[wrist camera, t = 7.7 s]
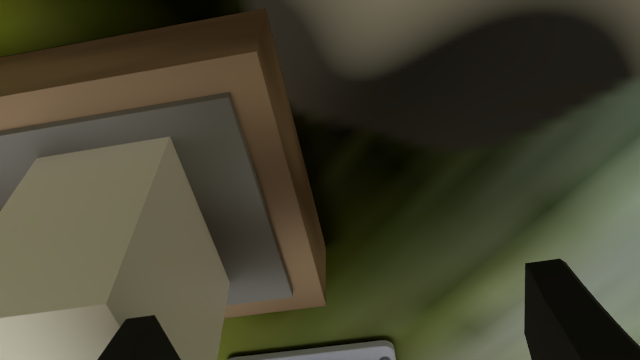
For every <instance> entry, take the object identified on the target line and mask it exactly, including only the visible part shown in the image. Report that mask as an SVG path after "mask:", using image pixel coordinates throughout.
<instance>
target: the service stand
mask: <svg viewBox="0 0 640 360" xmlns="http://www.w3.org/2000/svg"><path fill="white" fill-rule="evenodd" d="M164 137H170V138H171V140H172V143H173V145H174V148H175V150H176V152H177V155H178V157H179V160H180V162H181V165H182V167H183V169H184V172H185V174H186V177H187V179H188V182H189V184H190V186H191V189H192V191H193V194H194V196H195V199H196V201H197V204H198V206H199V208H200V211H201V213H202V216H203V218H204V221H205V223H206V225H207V228H208V230H209V233H210V235H211V238H212V240H213V242H214V245H215V247H216V250H217V252H218V255H219V257H220V260H221V262H222V264H223V267H224V269H225V272H226V274H227V277H228V279H229V281H230V285H229V291H228V297H227V303H226V309H225V315H224V318H231V317H239V316H247V315H255V314H263V313H271V312H279V311H287V310H295V309H303V308H311V307H319V306H326V247H325V243H324V239H323V235H322V231H321V227H320V223H319V219H318V215H317V211H316V207H315V203H314V199H313V195H312V191H311V187H310V183H309V179H308V175H307V171H306V168H305V164H304V160H303V156H302V152H301V148H300V144H299V140H298V136H297V132H296V128H295V124H294V120H293V116H292V112H291V108H290V104H289V100H288V96H287V92H286V88H285V84H284V80H283V76H282V73H281V68H280V64H279V60H278V56H277V52H276V49H275V45H274V40H273V36H272V33H271V28H270V24H269V20H268V16H267V13H266V9H259V10H254V11H248V12H243V13H238V14H232V15H227V16H221V17H216V18H211V19H205V20H200V21H194V22H189V23H184V24H178V25H173V26H167V27H162V28H157V29H151V30H146V31H141V32H135V33H130V34H124V35H119V36H114V37H108V38H103V39H97V40H92V41H87V42H81V43H76V44H70V45H65V46H60V47H54V48H49V49H43V50H38V51H33V52H27V53H22V54H16V55H11V56H6V57H0V211H1V210H2V208H3V207H4V205H5V204H6V202H7V201H8V199H9V198H10V196H11V195H12V193H13V192H14V190H15V189H16V188H17V186H18V185H19V183H20V182H21V180H22V179H23V177H24V176H25V174H26V173H27V171H28V170H29V168H30V167H31V165H32V164H33V163H34V161H35V160H36V158H41V157H47V156H53V155H59V154H65V153H71V152H78V151H84V150H90V149H96V148H102V147H108V146H114V145H121V144H127V143H133V142H139V141H145V140H151V139H158V138H164Z"/></svg>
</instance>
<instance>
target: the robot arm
mask: <svg viewBox="0 0 640 360" xmlns="http://www.w3.org/2000/svg"><path fill="white" fill-rule="evenodd" d="M524 333H525V337H526V340H527V344H528V348H529V351H530V355H531V359H532V360H640V346H639V345H638V344H637V343H636V342H635V341H634V340H633V339H632V338H631V337H630V336H629V335H628V334H627V333H626V332H625V331H624V330H623V329H622V328H621V326H620V325H619V324H618V323H617V322H616V321H615V320H614V319H613V318H612V317H611V316H610V314H609V313H608V312H607V311H606V310H605V309H604V308H603V307H602V305H601V304H600V303H599V302H598V301H597V300H596V299H595V298H594V296H593V295H592V294H591V293H590V292H589V291H588V289H587V288H586V287H585V286H584V285H583V283H582V282H581V281H580V280H579V279H578V277H577V276H576V275H575V274H574V272H573V271H572V270H571V269H570V267H569V266H568V265H567V264H566V262H564V261H563V260H561V259H554V260H547V261H540V262H532V263H525V330H524ZM97 360H181V359H180V357H179V356H178V354H177V352H176V350H175V349H174V347H173V345H172V344H171V342H170V340H169V338H168V337H167V335H166V333H165V332H164V330H163V328H162V327H161V325H160V323H159V321H158V320H157V318H156V316H155V315H150V316H143V317H136V318H129V319H126V320H125V321H124V322H123V324H122V325H121V327H120V328H119V329H118V331H117V332H116V334H115V335H114V336H113V338H112V339H111V341H110V342H109V344H108V345H107V346H106V348H105V349H104V351H103V352H102V354H101V355H100V356H99V358H98V359H97ZM228 360H396V356H395V351H394V346H393V344H392V343H391V342H389V341H386V340H380V341H371V342H362V343H354V344H345V345H336V346H328V347H319V348H311V349H302V350H293V351H285V352H276V353H267V354H259V355H250V356H241V357H233V358H230V359H228Z"/></svg>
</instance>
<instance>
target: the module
mask: <svg viewBox="0 0 640 360" xmlns="http://www.w3.org/2000/svg"><path fill="white" fill-rule="evenodd" d="M229 285H230V281H229V279H228V277H227V274H226V272H225V269H224V267H223V264H222V262H221V260H220V257H219V255H218V252H217V250H216V247H215V245H214V242H213V240H212V238H211V235H210V233H209V230H208V228H207V225H206V223H205V221H204V218H203V216H202V213H201V211H200V208H199V206H198V204H197V201H196V199H195V196H194V194H193V191H192V189H191V186H190V184H189V182H188V179H187V177H186V174H185V172H184V169H183V167H182V165H181V162H180V160H179V157H178V155H177V152H176V150H175V148H174V145H173V143H172V140H171V138H170V137H164V138H158V139H151V140H145V141H139V142H133V143H127V144H121V145H114V146H108V147H102V148H96V149H90V150H84V151H78V152H71V153H65V154H59V155H53V156H47V157H41V158H36V160H35V161H34V163H33V164H32V165H31V167H30V168H29V170H28V171H27V173H26V174H25V176H24V177H23V179H22V180H21V182H20V183H19V185H18V186H17V188H16V189H15V190H14V192H13V193H12V195H11V196H10V198H9V199H8V201H7V202H6V204H5V205H4V207H3V208H2V210H1V211H0V360H97V359H98V358H99V356H100V355H101V354H102V352H103V351H104V349H105V348H106V346H107V345H108V344H109V342H110V341H111V339H112V338H113V336H114V335H115V334H116V332H117V331H118V329H119V328H120V327H121V325H122V324H123V322H124V321H125V320H126V319H129V318H136V317H143V316H150V315H155V316H156V318H157V320H158V321H159V323H160V325H161V327H162V328H163V330H164V332H165V333H166V335H167V337H168V338H169V340H170V342H171V344H172V345H173V347H174V349H175V350H176V352H177V354H178V356H179V357H180V359H181V360H217V357H218V351H219V345H220V339H221V333H222V327H223V321H224V315H225V309H226V303H227V297H228V291H229Z"/></svg>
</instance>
